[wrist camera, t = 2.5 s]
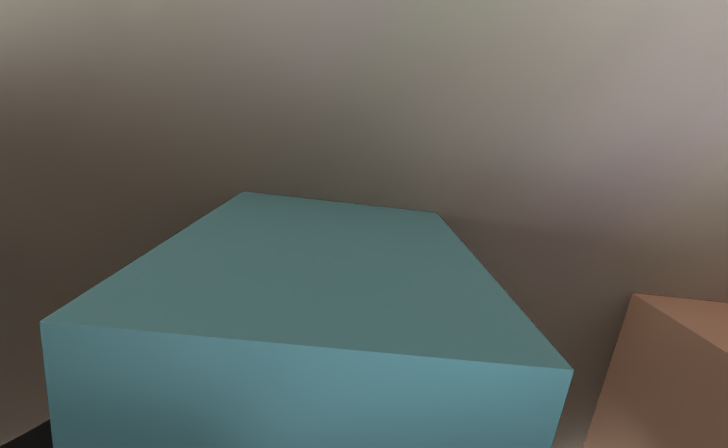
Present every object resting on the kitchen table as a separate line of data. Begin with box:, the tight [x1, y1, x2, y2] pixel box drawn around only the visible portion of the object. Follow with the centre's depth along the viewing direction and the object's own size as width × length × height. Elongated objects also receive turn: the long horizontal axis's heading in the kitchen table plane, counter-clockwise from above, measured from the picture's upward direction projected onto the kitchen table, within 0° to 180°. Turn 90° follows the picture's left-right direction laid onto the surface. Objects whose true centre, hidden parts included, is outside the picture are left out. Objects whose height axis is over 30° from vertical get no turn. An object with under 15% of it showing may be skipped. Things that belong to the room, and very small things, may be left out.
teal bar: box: [39, 191, 574, 448], centre depth 7 cm, size 4×8×6 cm, turn 173°
